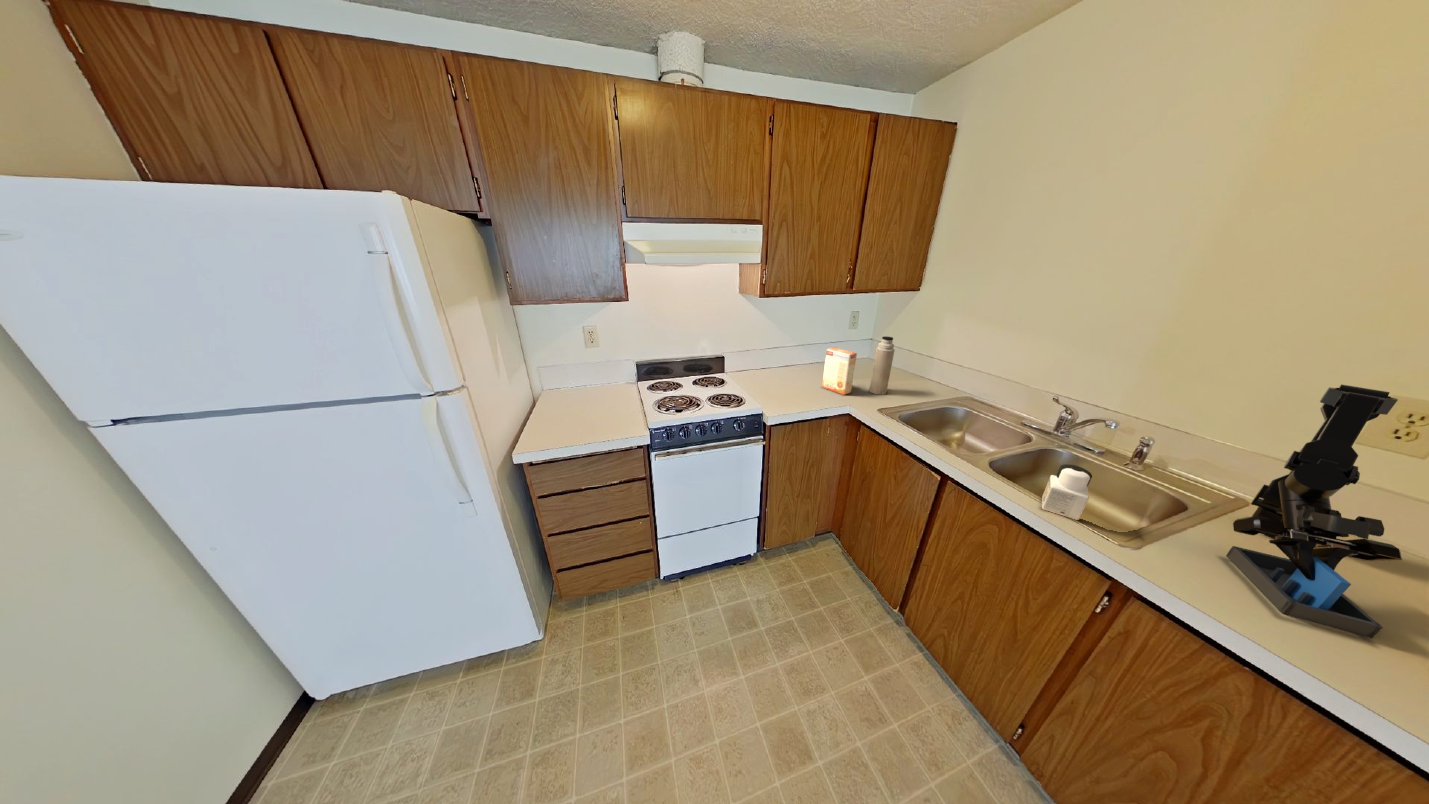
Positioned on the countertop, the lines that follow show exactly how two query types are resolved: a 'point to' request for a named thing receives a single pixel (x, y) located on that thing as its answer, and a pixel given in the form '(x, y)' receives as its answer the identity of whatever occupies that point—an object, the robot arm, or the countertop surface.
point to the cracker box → (839, 370)
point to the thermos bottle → (882, 366)
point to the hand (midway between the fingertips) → (1317, 581)
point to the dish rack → (1275, 573)
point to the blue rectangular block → (1320, 585)
